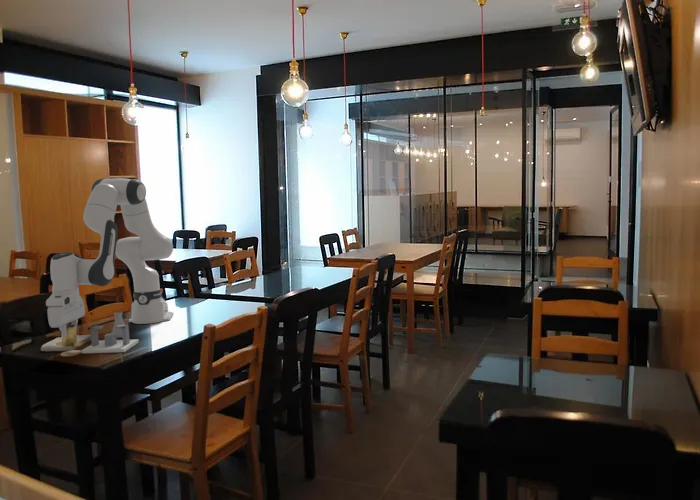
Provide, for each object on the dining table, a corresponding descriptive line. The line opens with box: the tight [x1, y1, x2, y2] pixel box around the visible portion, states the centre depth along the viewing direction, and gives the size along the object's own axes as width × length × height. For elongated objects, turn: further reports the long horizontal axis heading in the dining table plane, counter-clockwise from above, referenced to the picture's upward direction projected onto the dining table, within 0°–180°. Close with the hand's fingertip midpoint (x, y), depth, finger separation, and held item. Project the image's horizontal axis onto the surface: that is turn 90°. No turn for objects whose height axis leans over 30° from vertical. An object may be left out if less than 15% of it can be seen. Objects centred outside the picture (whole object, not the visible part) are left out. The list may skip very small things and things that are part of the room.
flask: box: [111, 311, 130, 339], centre depth 243 cm, size 7×7×10 cm
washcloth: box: [40, 334, 91, 352], centre depth 232 cm, size 12×18×3 cm, turn 178°
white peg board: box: [81, 324, 140, 354], centre depth 225 cm, size 14×16×8 cm
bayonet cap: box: [56, 324, 84, 347], centre depth 218 cm, size 5×9×8 cm, turn 84°
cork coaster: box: [60, 349, 83, 357], centre depth 219 cm, size 7×7×1 cm
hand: (69, 334), depth 218 cm, fingers closed on bayonet cap, 5 cm apart
